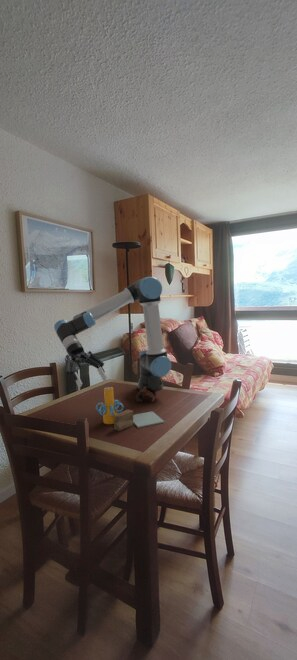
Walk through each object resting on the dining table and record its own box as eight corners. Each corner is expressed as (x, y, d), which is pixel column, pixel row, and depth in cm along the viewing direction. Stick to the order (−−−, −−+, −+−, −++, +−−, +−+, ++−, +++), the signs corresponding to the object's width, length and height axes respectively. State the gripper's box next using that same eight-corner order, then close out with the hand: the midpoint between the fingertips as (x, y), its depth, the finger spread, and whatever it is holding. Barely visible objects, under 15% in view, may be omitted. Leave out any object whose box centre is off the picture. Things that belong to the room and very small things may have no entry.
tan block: (114, 429, 122) (113, 415, 122) (128, 423, 128) (128, 409, 127) (119, 431, 120) (118, 416, 120) (133, 424, 126) (132, 410, 125)
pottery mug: (141, 397, 163) (148, 385, 162) (153, 408, 158) (161, 395, 157) (128, 398, 153) (136, 384, 152) (141, 409, 148) (149, 395, 147)
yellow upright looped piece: (109, 429, 122) (107, 393, 121) (91, 424, 128) (89, 390, 127) (128, 419, 132) (127, 386, 130) (111, 415, 138) (110, 383, 137)
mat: (152, 412, 139) (152, 411, 139) (164, 422, 127) (164, 421, 127) (127, 417, 134) (127, 415, 134) (137, 428, 122) (137, 426, 122)
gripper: (91, 348, 155) (111, 381, 146) (46, 355, 137) (66, 393, 128) (97, 338, 151) (118, 372, 142) (52, 345, 133) (72, 383, 124)
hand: (93, 382), depth 135 cm, fingers open, 13 cm apart
